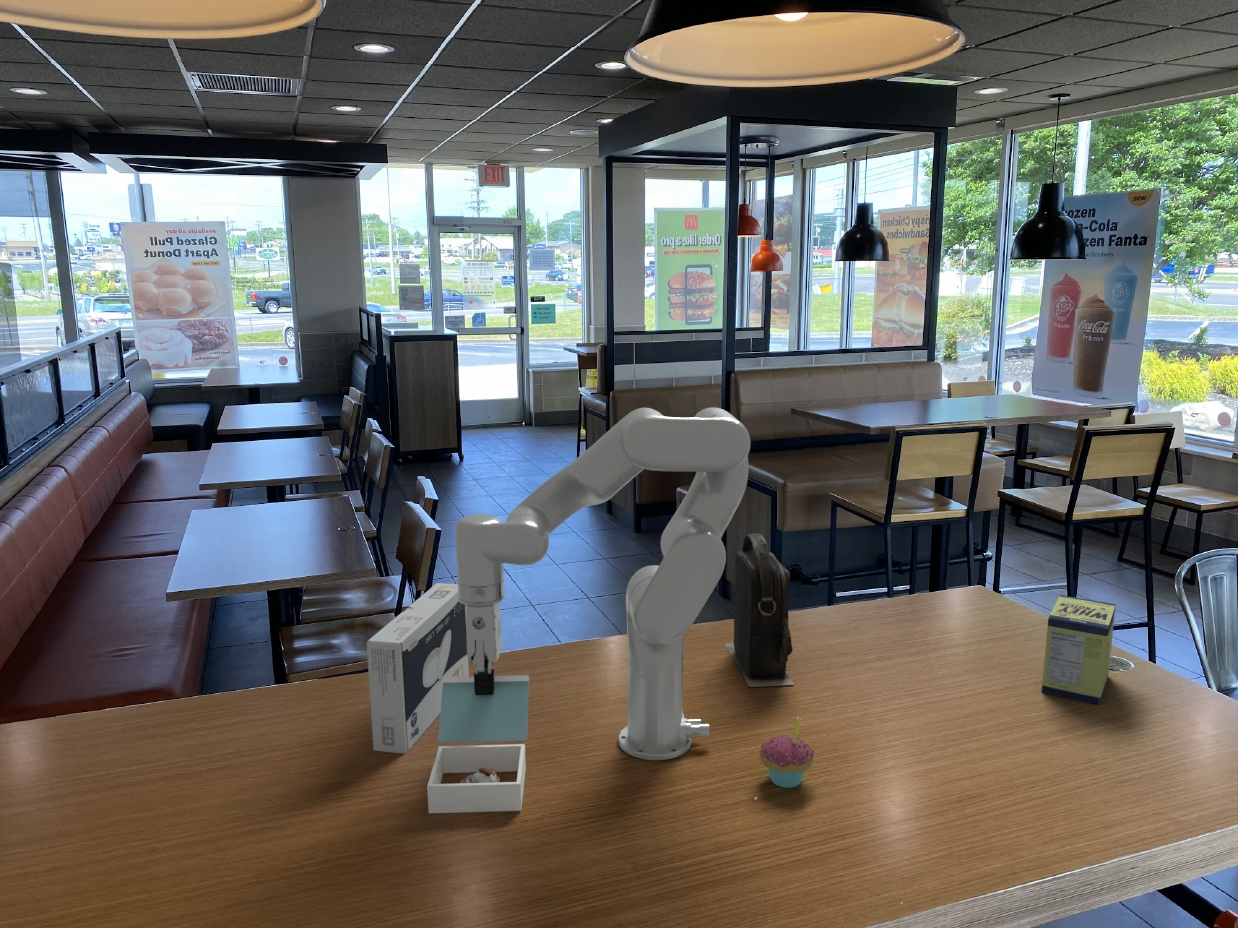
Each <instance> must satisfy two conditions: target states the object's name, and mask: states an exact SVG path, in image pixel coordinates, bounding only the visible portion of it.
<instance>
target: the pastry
mask: <svg viewBox="0 0 1238 928" xmlns="http://www.w3.org/2000/svg"><path fill="white" fill-rule="evenodd" d="M494 782H501V781H500V776H497V772H493V770H492V768H491V767H489V768H488V767H484V768H480V769H479V772H474V773H471V774H470V775H467V776H465V777H464V778H463V779H461V780H460V782H459V783H494Z"/></svg>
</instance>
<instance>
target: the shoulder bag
mask: <svg viewBox="0 0 1238 928" xmlns="http://www.w3.org/2000/svg"><path fill="white" fill-rule="evenodd" d="M734 557H735V558H734V559H735V560H734V593H733V594H734V595H733V597H734V598H733V642H726V643H723V645H724V646H725V649H726V650H727V652H728V654H729V655H730V656H731V658H732V660H733V662H734V664H735V665H736V667H737V668H738V670H739V672H740V673H741V675H742V676H743V679H744V680H745V683H746V684H747V686H748V687H749V688H757V687H758V688H762V687H777V686H779V687H780V686H795V683H794V682H793V681H792V679H791V678H790V676H789V675H788V674H787V672H786V671H787V662H788V661H789V656H790V655H791V654H792V652H793V646H792V637H791V636H792V635H791V630H790V628H789V627H790V626H789V592H790V586H791V575H790V571H789V570H788V569H787V568H786V567H785V566H784V565H783V564H782V563H781V561H780V560H779V559H778V558H777V557H776V555H775V554H774V553H773V552H771V551H770V550H769V546H768V542H767V540H766V537H765V536H764V535H763V533H758V532H757V533H756V532H755V533H749V534H746V535H744V537H743V543H742V549H741V551H737V552H736V554H735V556H734Z"/></svg>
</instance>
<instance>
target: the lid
mask: <svg viewBox="0 0 1238 928" xmlns="http://www.w3.org/2000/svg"><path fill="white" fill-rule="evenodd" d="M529 686H530V675H525V674H524V675H522V674H521V675H518V674H517V675H494V688H495V689H494V694H493V695H475V690H474V675H473V676H472V675H471V676H469V677H443V688H442V699H441V711H440V714H439V723H438V734H437V742H438V743H443V744H444V743H472V742H473V743H476V742H478V743H479V742H480V743H481V742H517V741H528V725H529V724H528V722H529V691H530V690H529V689H530V687H529Z"/></svg>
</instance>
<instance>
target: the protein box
mask: <svg viewBox="0 0 1238 928" xmlns="http://www.w3.org/2000/svg"><path fill="white" fill-rule="evenodd" d="M1116 605H1117V604H1116V603H1109V602H1105V601H1097V600H1092V599H1087V598H1082V597H1080V598H1079V597H1075V596H1069V595H1063V594H1059V596H1058V598H1057V600H1056V602H1055V604H1054V606H1053V608H1052V610H1051V612H1050V614H1049V616H1048V617H1047V618H1048V619H1047V630H1046V641H1045V651H1044V652H1045V653H1044V662H1043V672H1042V684H1041V693H1043V694H1044V693H1045V694H1048V695H1054V696H1058V697H1061V698H1068V699H1072V700H1077V701H1080V702H1085V703H1090V704H1091V703H1092V704H1094V705H1098V706H1099V705H1100V704H1101V702H1102V698H1103V696H1104V692H1105V689H1106V684H1107V681H1108V677H1109V670H1110V662H1111V660H1110V659H1111V651H1112V642H1113V635H1114V634H1113V633H1114V632H1113V631H1114V624H1115V615H1116Z"/></svg>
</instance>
